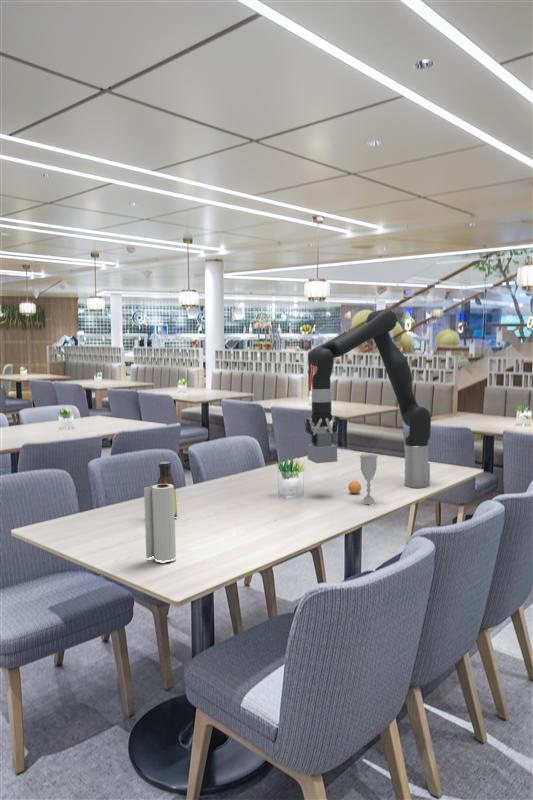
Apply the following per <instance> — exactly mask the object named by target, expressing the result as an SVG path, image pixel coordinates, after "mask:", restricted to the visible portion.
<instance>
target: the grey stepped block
mask: <svg viewBox="0 0 533 800" xmlns="http://www.w3.org/2000/svg"><path fill="white" fill-rule="evenodd" d="M316 441H317V444H316V445H313V443H308V444H307V460H308V461H311V462H312V463H314V464H324V463H325V464H326V463H334V462H338V445H335V444H333V441H332V433H331V432H328V431H327V430H320V431H318V430H317V433H316Z"/></svg>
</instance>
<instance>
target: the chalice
mask: <svg viewBox="0 0 533 800" xmlns="http://www.w3.org/2000/svg"><path fill="white" fill-rule="evenodd" d="M359 458H360V470H361V474H362V475H363V478H364V480H365V481H367V482H366V492H367V493H366V496H364V497H363V500H362V501H361V504H362V503H363V504H362V505H364V504H369V505H368V506H371V505H370V504H374V505H375V504H376V502H375V499H374V497H373V496H371V491H372V489H371V488H370V487H371V481H372V480H373V479H374V477H375V475H376V472H377V462H378V455H377V454H376V453H362V454H359Z"/></svg>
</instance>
